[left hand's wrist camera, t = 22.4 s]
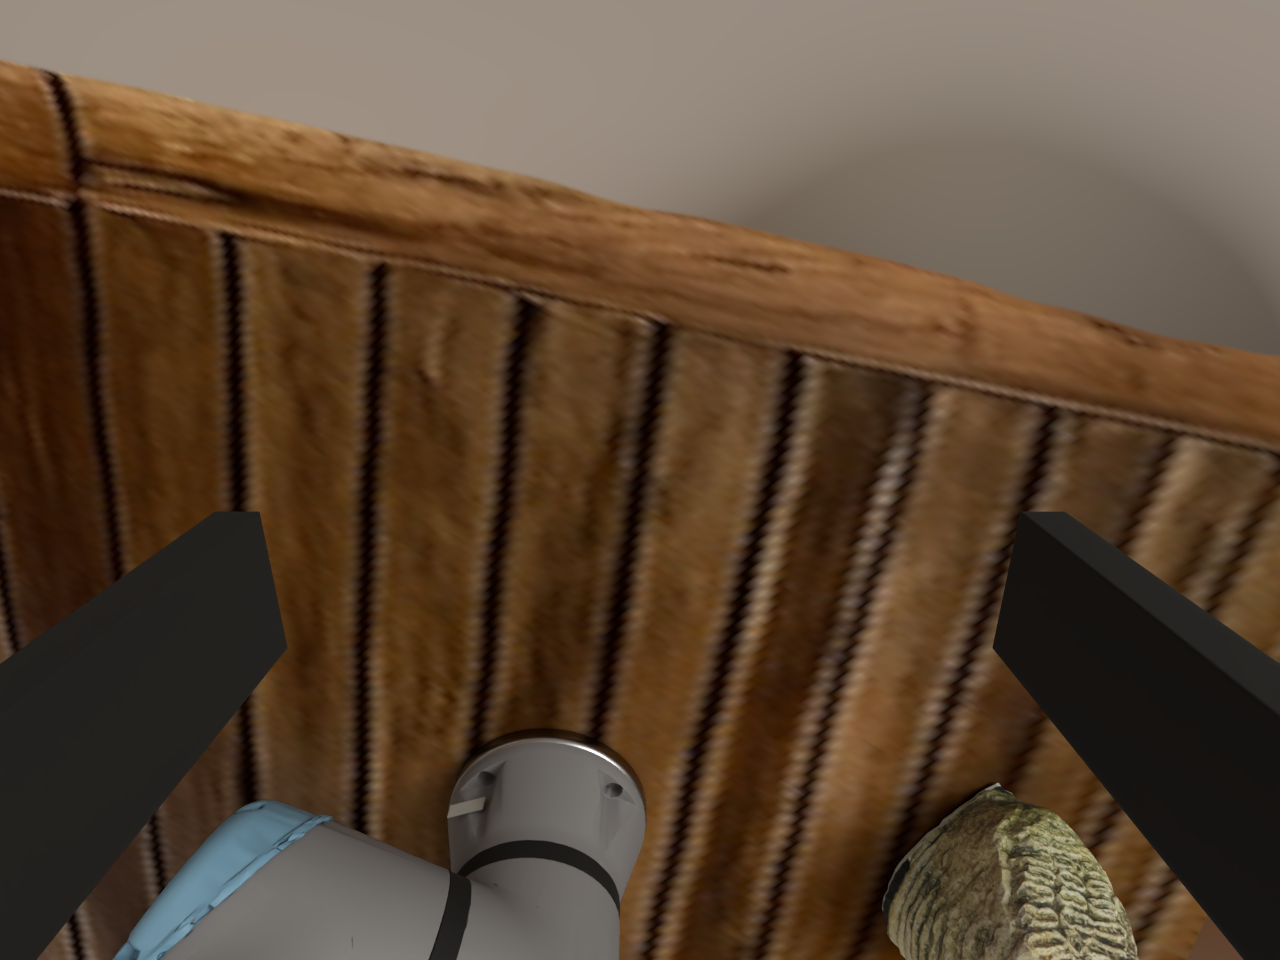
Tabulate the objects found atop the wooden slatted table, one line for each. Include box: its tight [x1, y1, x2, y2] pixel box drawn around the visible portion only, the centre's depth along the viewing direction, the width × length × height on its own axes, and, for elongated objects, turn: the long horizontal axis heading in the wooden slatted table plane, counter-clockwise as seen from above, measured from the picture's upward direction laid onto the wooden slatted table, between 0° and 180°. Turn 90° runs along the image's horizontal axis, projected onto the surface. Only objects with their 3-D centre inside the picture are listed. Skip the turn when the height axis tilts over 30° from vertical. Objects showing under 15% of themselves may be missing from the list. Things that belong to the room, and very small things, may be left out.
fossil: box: [882, 783, 1139, 960], centre depth 51 cm, size 9×18×15 cm, turn 164°
